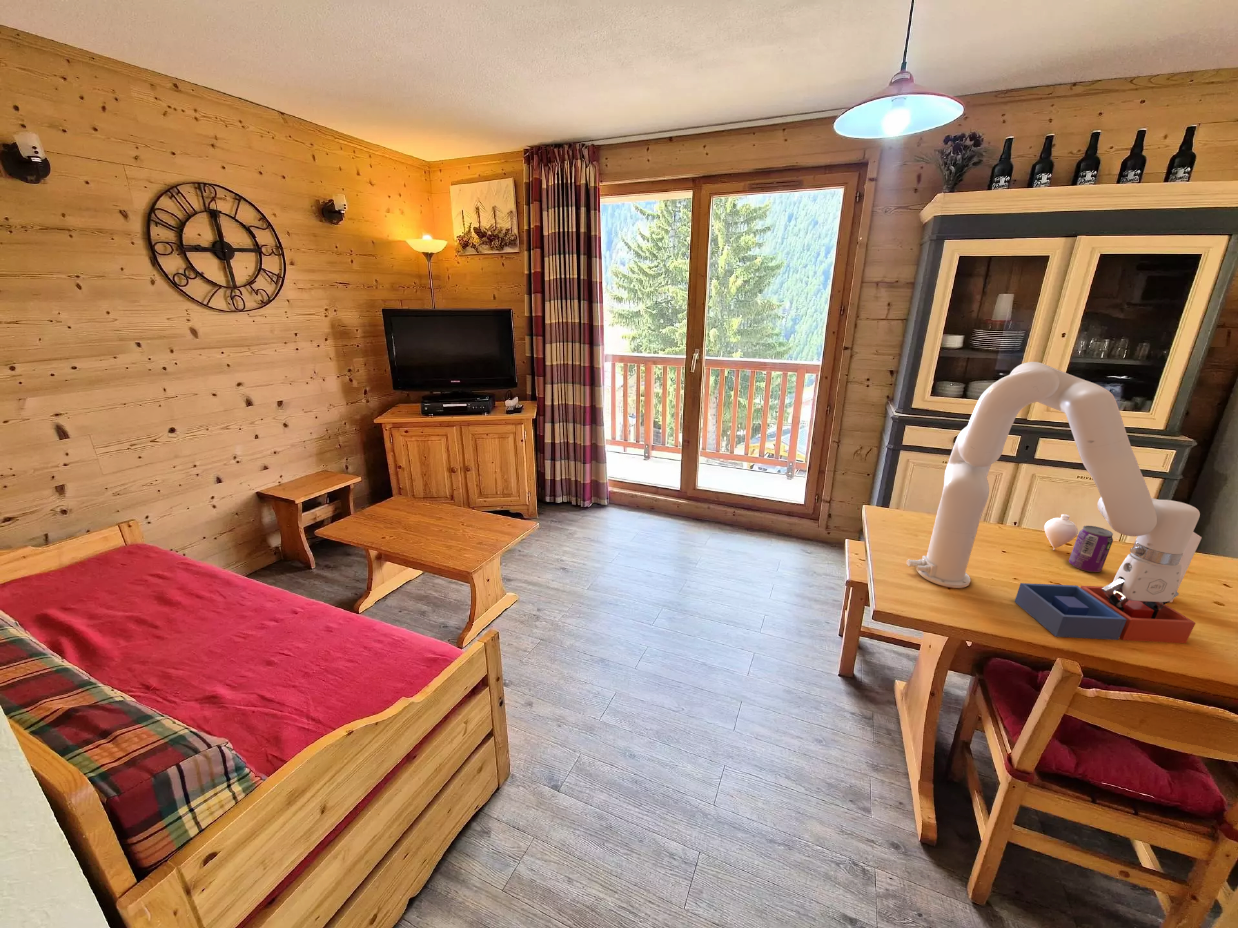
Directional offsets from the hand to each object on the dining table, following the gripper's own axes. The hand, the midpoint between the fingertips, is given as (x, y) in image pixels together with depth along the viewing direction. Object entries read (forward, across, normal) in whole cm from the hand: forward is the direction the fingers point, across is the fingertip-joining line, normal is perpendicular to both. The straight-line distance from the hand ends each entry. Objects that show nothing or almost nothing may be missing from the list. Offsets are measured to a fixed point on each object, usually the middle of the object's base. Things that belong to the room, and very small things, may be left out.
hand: (1128, 618), depth 116 cm
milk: (+1, +17, +13) cm, 21 cm away
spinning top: (+1, +10, +36) cm, 37 cm away
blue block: (0, -14, 0) cm, 14 cm away
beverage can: (+1, +11, +26) cm, 28 cm away
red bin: (+1, 0, 0) cm, 1 cm away
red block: (0, 0, 0) cm, 0 cm away
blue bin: (+1, -14, 0) cm, 15 cm away
